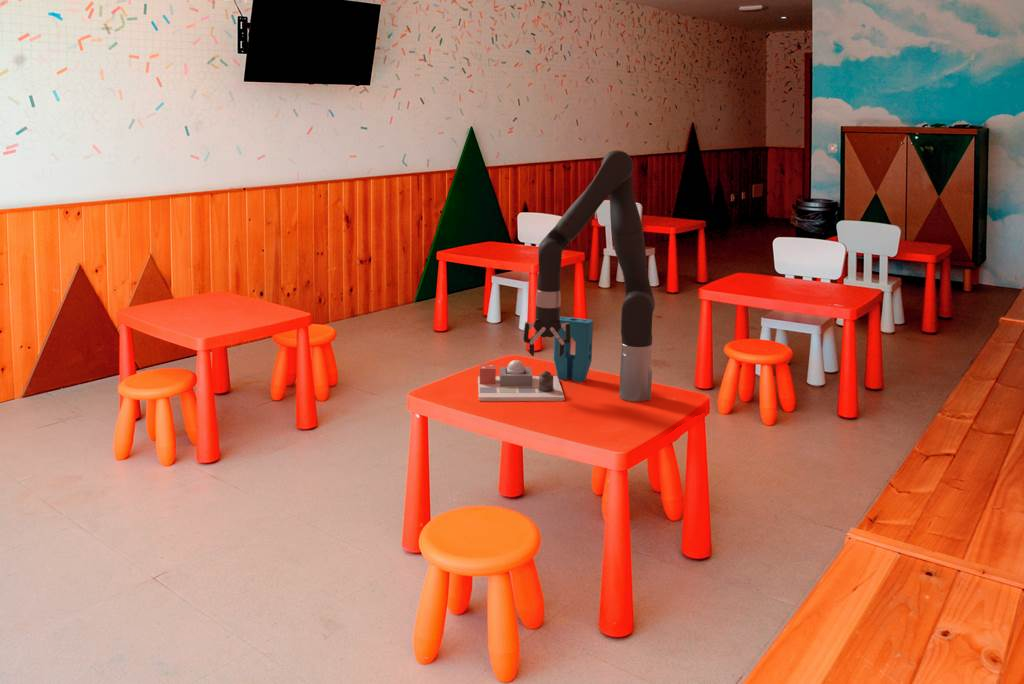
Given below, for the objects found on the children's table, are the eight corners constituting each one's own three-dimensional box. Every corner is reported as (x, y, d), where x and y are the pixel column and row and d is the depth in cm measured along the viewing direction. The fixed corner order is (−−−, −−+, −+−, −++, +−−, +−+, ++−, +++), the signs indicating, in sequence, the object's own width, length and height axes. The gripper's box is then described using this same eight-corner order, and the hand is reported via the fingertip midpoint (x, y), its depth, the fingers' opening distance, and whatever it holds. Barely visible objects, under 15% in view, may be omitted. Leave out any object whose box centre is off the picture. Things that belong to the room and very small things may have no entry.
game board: (557, 379, 297) (557, 375, 297) (564, 400, 276) (564, 396, 276) (477, 379, 296) (477, 376, 296) (478, 401, 275) (478, 396, 274)
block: (591, 379, 298) (593, 320, 293) (586, 383, 294) (588, 323, 289) (557, 374, 303) (559, 316, 298) (552, 378, 299) (553, 319, 294)
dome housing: (530, 377, 296) (530, 366, 295) (532, 386, 286) (532, 375, 285) (499, 377, 295) (499, 366, 294) (500, 386, 285) (500, 375, 285)
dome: (523, 373, 293) (524, 357, 292) (524, 378, 287) (525, 362, 286) (506, 373, 293) (506, 357, 291) (507, 378, 287) (507, 362, 286)
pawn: (552, 387, 284) (552, 369, 283) (553, 391, 280) (554, 373, 279) (538, 387, 284) (538, 369, 283) (539, 391, 280) (539, 373, 278)
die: (495, 379, 293) (495, 364, 291) (495, 384, 288) (495, 368, 286) (479, 379, 292) (479, 364, 291) (479, 384, 287) (479, 368, 286)
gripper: (570, 302, 279) (567, 352, 284) (524, 301, 279) (522, 352, 283) (572, 307, 272) (570, 359, 276) (525, 306, 272) (523, 358, 276)
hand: (546, 355), depth 280 cm, fingers open, 8 cm apart
